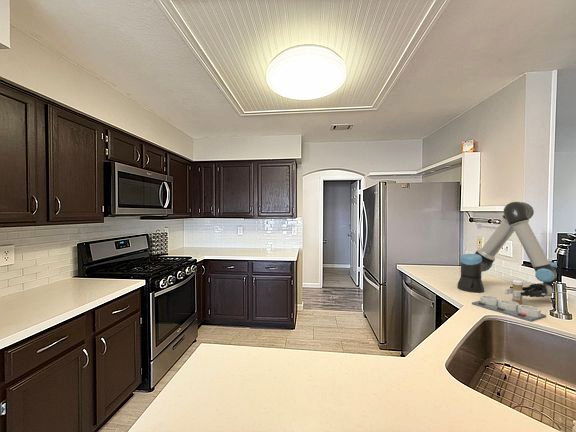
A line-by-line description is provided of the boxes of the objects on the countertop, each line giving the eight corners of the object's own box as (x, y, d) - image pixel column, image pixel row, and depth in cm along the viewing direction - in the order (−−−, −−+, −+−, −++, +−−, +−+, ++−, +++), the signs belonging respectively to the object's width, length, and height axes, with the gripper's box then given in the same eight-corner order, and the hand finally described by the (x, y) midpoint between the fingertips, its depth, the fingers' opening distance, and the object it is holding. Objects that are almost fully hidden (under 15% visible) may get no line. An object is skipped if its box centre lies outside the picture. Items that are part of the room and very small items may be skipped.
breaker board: (471, 304, 154) (471, 297, 154) (487, 300, 161) (487, 294, 161) (531, 321, 130) (531, 313, 130) (546, 317, 137) (546, 309, 137)
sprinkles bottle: (524, 305, 153) (525, 281, 153) (518, 306, 152) (518, 282, 152) (516, 303, 158) (516, 279, 157) (509, 303, 157) (510, 280, 156)
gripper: (558, 301, 151) (527, 304, 145) (523, 292, 168) (494, 294, 162) (558, 287, 151) (528, 290, 145) (523, 280, 168) (495, 282, 161)
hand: (510, 292), depth 153 cm, fingers closed on sprinkles bottle, 4 cm apart
